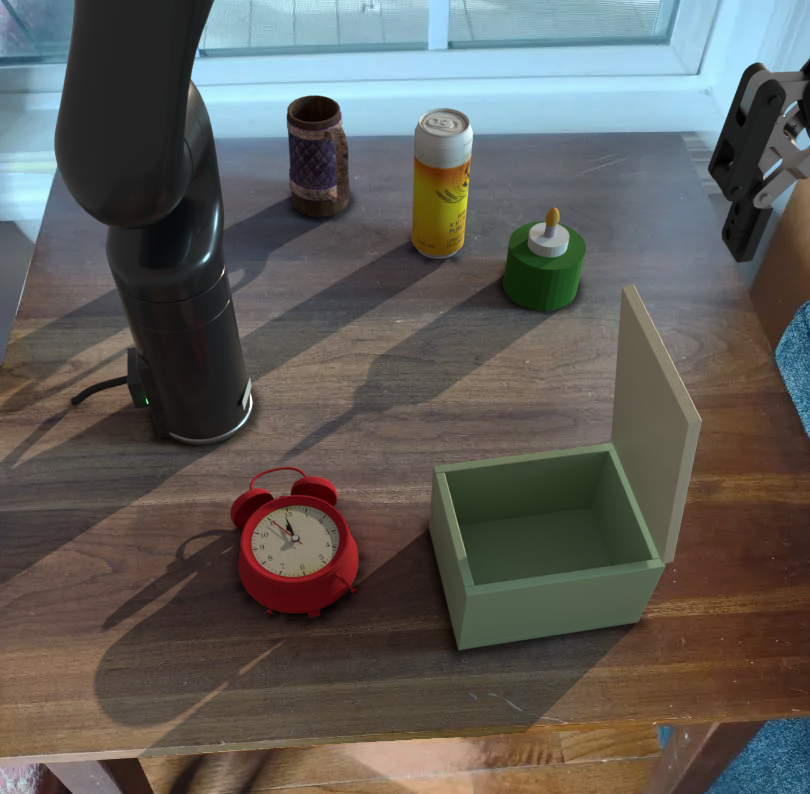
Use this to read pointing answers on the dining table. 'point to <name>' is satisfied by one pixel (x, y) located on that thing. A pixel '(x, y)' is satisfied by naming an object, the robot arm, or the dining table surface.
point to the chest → (540, 545)
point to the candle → (544, 264)
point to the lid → (652, 424)
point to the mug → (317, 156)
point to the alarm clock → (294, 546)
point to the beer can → (441, 181)
